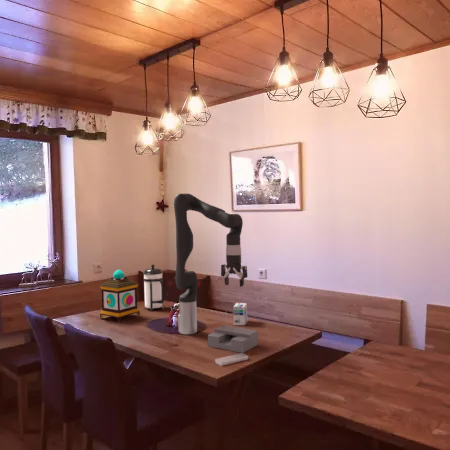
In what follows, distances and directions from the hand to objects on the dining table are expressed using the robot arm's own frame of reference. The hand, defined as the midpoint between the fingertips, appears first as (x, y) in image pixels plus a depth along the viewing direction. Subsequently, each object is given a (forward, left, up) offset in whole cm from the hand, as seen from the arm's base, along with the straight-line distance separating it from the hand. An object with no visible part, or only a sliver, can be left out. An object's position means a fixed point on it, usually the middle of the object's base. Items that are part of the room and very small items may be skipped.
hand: (234, 285), depth 222 cm
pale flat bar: (+14, -25, -29) cm, 41 cm away
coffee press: (-83, +32, -28) cm, 93 cm away
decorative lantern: (-87, +4, -28) cm, 92 cm away
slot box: (+3, -7, -28) cm, 29 cm away
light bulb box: (-15, +30, -28) cm, 44 cm away
